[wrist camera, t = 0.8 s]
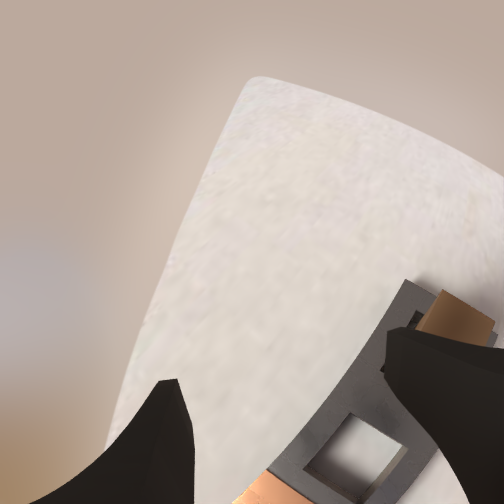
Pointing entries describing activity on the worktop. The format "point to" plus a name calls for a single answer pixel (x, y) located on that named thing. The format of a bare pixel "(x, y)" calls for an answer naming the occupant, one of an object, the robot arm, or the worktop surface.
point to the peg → (456, 321)
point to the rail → (365, 408)
